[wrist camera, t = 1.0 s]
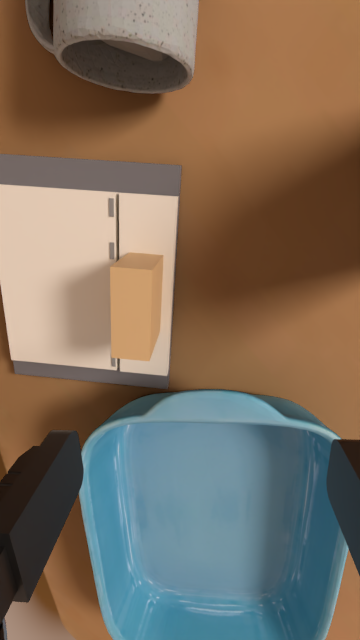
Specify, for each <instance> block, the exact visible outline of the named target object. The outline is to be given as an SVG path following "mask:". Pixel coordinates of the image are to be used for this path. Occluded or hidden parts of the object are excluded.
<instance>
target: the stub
mask: <svg viewBox="0 0 360 640" xmlns="http://www.w3.org/2000/svg"><path fill="white" fill-rule="evenodd" d="M178 197H179V196H164V195H150V194H135V193H119V260H118V261H117V262H116V263H114V264H113V265H112V266H110V299H111V358H119V359H120V371H121V372H131V373H142V374H152V375H162V376H167V375H168V371H169V355H170V337H171V320H172V302H173V285H174V267H175V250H176V232H177V215H178Z"/></svg>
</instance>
